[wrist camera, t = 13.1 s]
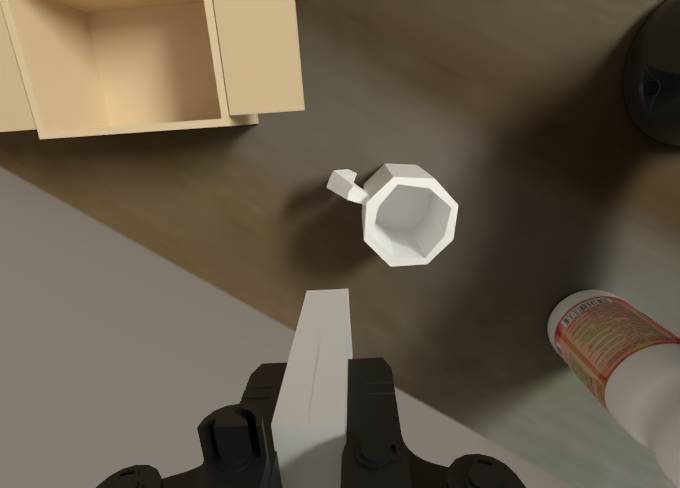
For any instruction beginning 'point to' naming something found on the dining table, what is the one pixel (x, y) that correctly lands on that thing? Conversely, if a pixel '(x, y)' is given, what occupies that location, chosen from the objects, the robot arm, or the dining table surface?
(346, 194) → the mug
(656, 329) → the fruit juice
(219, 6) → the carton
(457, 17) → the dining table surface
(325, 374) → the robot arm
